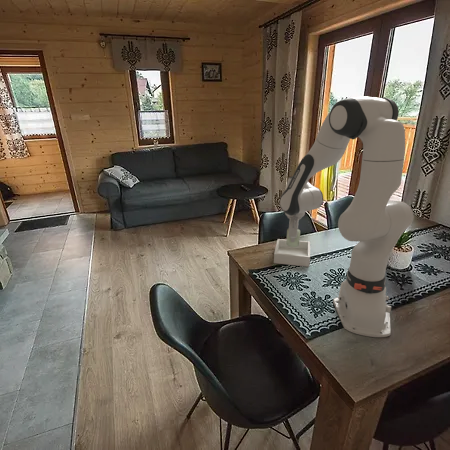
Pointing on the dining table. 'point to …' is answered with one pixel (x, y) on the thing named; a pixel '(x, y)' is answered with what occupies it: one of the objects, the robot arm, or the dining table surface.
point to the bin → (292, 253)
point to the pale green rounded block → (297, 239)
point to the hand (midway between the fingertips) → (293, 238)
